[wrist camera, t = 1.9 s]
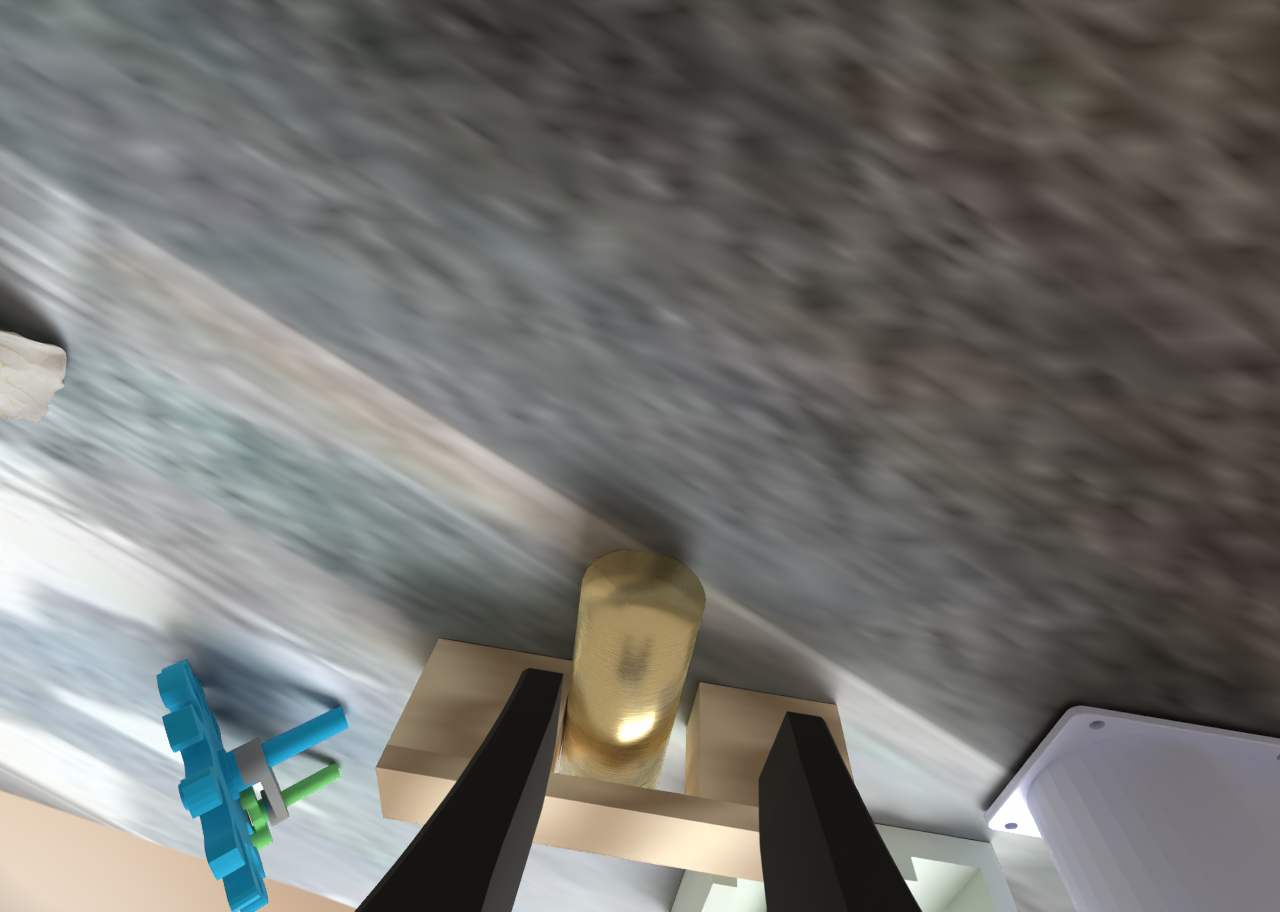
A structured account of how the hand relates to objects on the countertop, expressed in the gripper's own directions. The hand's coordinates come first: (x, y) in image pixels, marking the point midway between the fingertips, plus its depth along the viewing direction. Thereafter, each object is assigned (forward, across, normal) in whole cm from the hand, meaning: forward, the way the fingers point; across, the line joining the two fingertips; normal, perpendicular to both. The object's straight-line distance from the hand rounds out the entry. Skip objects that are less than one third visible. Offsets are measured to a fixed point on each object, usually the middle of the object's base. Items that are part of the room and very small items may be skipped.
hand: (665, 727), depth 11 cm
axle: (+8, 0, +10) cm, 13 cm away
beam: (+9, 0, +12) cm, 15 cm away
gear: (+10, +16, +16) cm, 25 cm away
